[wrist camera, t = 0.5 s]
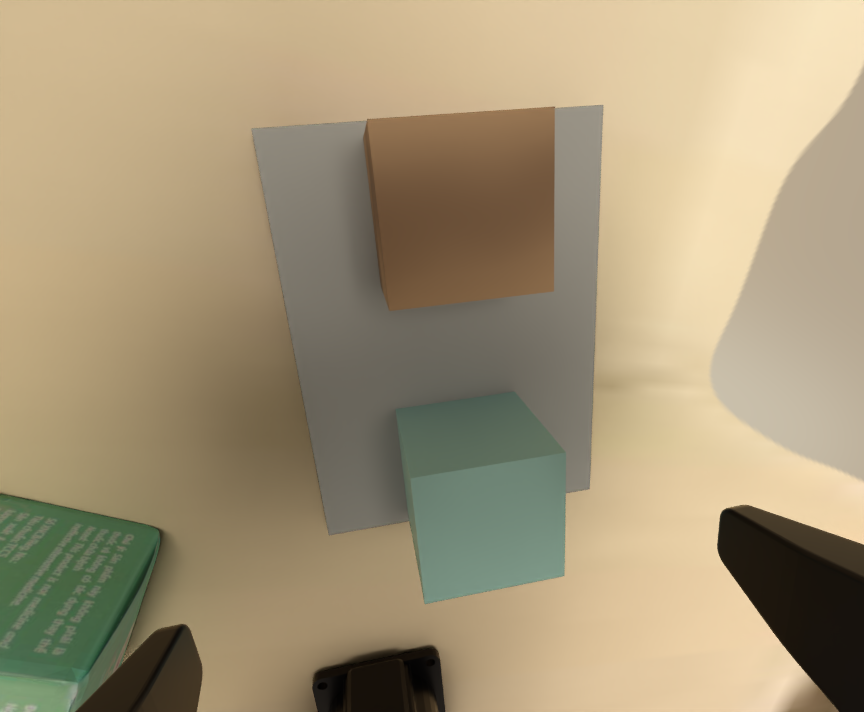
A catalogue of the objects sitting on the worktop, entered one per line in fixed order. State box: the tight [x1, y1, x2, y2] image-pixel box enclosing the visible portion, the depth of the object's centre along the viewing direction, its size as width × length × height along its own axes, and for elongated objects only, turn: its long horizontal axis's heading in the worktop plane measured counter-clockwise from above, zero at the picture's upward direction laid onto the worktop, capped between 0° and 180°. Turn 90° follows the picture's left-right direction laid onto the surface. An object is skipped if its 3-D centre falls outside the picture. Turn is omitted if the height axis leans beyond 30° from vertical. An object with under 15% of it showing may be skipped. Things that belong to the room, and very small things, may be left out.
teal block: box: [396, 392, 566, 604], centre depth 18 cm, size 5×5×5 cm
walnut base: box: [363, 107, 555, 311], centre depth 15 cm, size 5×5×4 cm
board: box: [252, 105, 603, 535], centre depth 19 cm, size 16×12×1 cm
